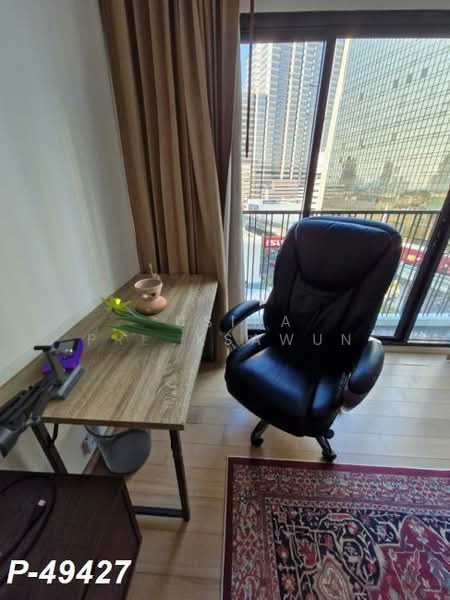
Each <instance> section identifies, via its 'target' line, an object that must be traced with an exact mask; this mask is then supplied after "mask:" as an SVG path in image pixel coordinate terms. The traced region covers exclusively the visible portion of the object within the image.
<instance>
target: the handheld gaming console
mask: <svg viewBox="0 0 450 600" xmlns="http://www.w3.org/2000/svg"><path fill="white" fill-rule="evenodd" d="M52 346H53V347H54V348H55V349H72V350H73V353H72V354H71V355H58V358H59V360H60V363H61V365H62V368H63V369H65V371H69V370H74V368H76V367H77V366H78V365H80V364H79V363H80V358H81V357H82V354H83V351H84V342H83V338H82V337H75V338H70V339H69V338H68V339H64V340H58V341H54V342H53V344H52ZM49 370H50V369H49V366H48V364H47V362H46V361H45V363H44V365H43V368H42V372H41V373H42V374H43V376H44V375H45V374H46V373H47V372H48V371H49Z"/></svg>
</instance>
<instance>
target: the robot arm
mask: <svg viewBox="0 0 450 600" xmlns="http://www.w3.org/2000/svg"><path fill="white" fill-rule="evenodd" d="M56 378H57V375H56V373H55V370H49V371H48V372H47V373H46V374H45V375H44V374H43V376H42V378H41V379H39V380H37V381H36V382H35V384H33V385H32V384H31V385H28V386H27V388H28V389H25V388H23V389H21V390H19V392H17V393H16V394H15V395H14V396H12V397H11V398H10V399H9V400H8V401H6V402H5V403H4V404H2V405H1V406H0V465H1V464H2V462H3V460H4V459H5V458H7V456H8V455H9V454H10V452H11V451H12V450H13V448H14V447H15V446H16V444H17V442H18V440H19V438H20V436H21V435H22V434H23V433H24V432H26V430H28V428H29V427H31V426H34V425H35V427H39V426H40V425H41V424H42V417H43V415H44V412H45V411H46V408H47V406H48V404H49V402H50V401H51V400H50V398H51V394H50V392H49V389H50V387H51V386H52V385H53V381H54V380H55V379H56Z"/></svg>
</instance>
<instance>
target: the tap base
mask: <svg viewBox="0 0 450 600" xmlns="http://www.w3.org/2000/svg"><path fill="white" fill-rule="evenodd" d="M63 371H64V373H65V376H66V377H68V379H67V380H66V382H65V383H64V384H63V385H62V386H55V385H54V383H55V380H54V381H53V385H52V386H51V387H50V389H49V392H50V394H51V398H50V400H49V401H60V400H61V401H62V400H63V401H64V400H66V399H67V398H68V396H69V395H70V393H72V391H73V389H74V388H75V387H76V384H78V382H79V381H80V379H81V377H82V376H83V375H84V373H85V372H86V371H85V368H84V367H81V365H80V364H78V366H77V367H76V368H74V370H69V371H65V369H63Z"/></svg>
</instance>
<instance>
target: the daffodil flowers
mask: <svg viewBox="0 0 450 600" xmlns="http://www.w3.org/2000/svg"><path fill="white" fill-rule="evenodd" d="M100 299H101V301H102V302H103V303H104V304H106V305H107V306H106V307H105V309H106V310H107V311H111V312H112V313H113V314H114V315H116V316H118V317H115V318H114V319H112V320H111V321H110V322H114V321H117V320H119V321H126V322H129V323H125V324H122V325H115V324H103V326H104V327H105V329H107V330H104V331H103V332H102V333H103V334H108V333H109V334H110V333H112V335H111V336H110V337H109V338H110V339H112V340H114V341H118V338H119V337H121V336H123V337H124V338H125V339H126V340H127V341H128V342H129V343H130V340H129V339H128V335H127V334H130V333H134V334H137V335H143V336H145V337H146V336H147V337H150V338H151V337H152V338H155V339H159V340H164V341H168V342H172V343H176V344H181V342H182V340H181V338H182V336H183V334H184V333H183V332H185V330H184V329H185V326H182V325H179V324H175V323H169V322H165V321H160V320H159V321H158V320H154V319H152V318H149V317H147V316H145V315H142V313H141V314H140V312H137V311H135V310H134V308H132V307H131V306H130V305H129V304H130V303H131V302H132V300H128V301H125V302H121V299H119V298H117V297H114V296H113V295H112V294H111V293H110V294H109V296H108V300H107V299H105V297H102V296H100ZM127 305H128V307H129V308H128V307H127ZM124 307H125V308H126V309H125V308H124ZM122 312H127V313H130V315H129V314H127V313H122ZM131 314H132V315H131ZM132 323H133V324H132ZM123 331H126V333H124V332H123ZM130 344H131V343H130Z"/></svg>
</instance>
